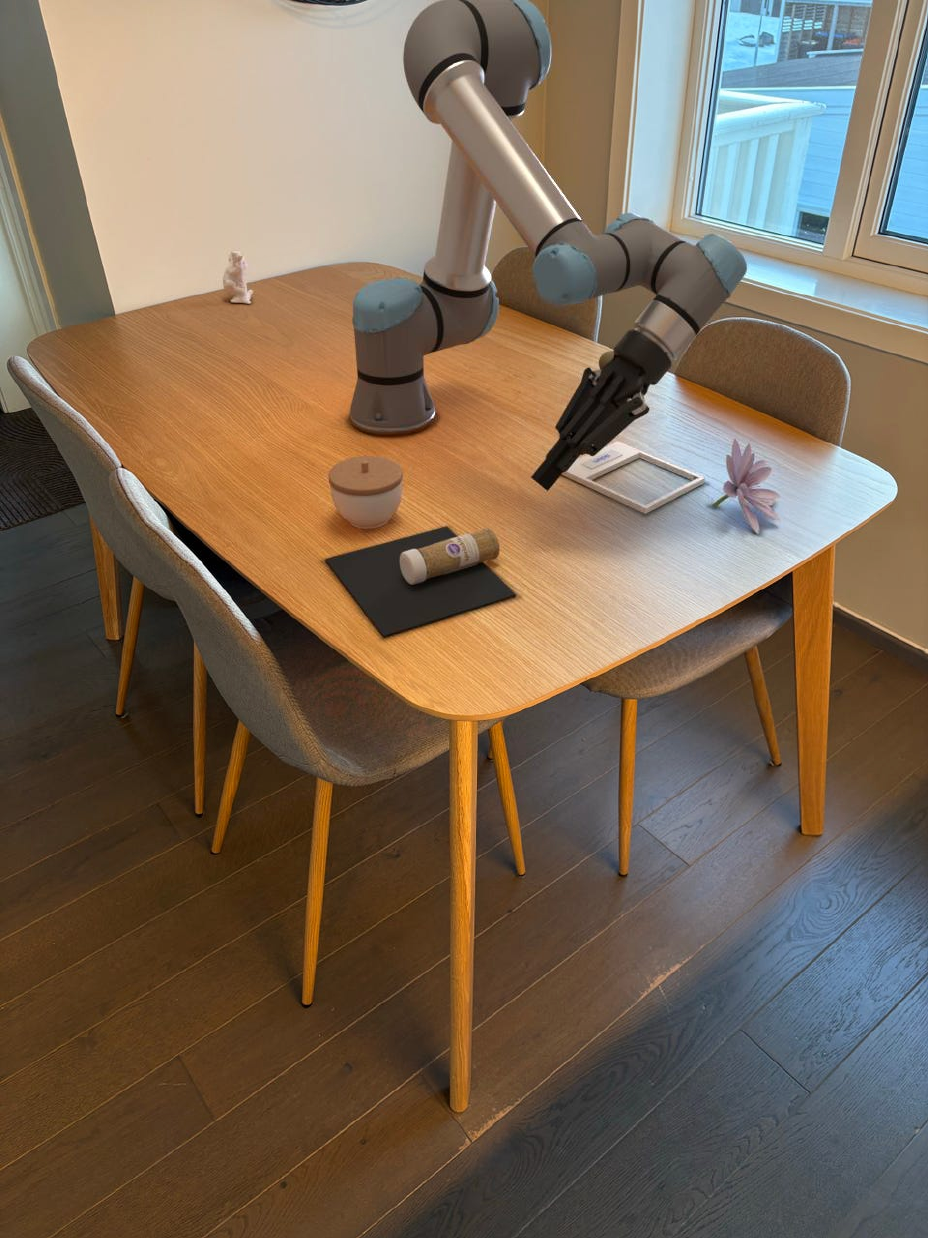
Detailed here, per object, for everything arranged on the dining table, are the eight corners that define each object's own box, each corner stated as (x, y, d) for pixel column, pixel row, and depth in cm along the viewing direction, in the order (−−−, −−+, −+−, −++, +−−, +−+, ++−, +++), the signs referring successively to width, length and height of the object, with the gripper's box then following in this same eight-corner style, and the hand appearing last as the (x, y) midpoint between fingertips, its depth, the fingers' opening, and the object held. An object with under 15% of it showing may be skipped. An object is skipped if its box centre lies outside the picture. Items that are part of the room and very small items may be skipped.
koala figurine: (259, 304, 221) (252, 251, 214) (231, 308, 219) (223, 254, 212) (250, 294, 227) (243, 242, 220) (223, 297, 225) (215, 245, 218)
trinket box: (333, 502, 143) (328, 446, 138) (403, 499, 144) (400, 443, 138) (331, 539, 135) (325, 480, 129) (406, 535, 135) (403, 477, 130)
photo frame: (617, 439, 158) (705, 476, 147) (617, 445, 159) (704, 482, 148) (558, 466, 150) (646, 507, 139) (557, 472, 151) (645, 513, 140)
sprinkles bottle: (503, 543, 126) (416, 570, 120) (496, 565, 130) (411, 592, 124) (487, 519, 128) (400, 545, 122) (480, 541, 132) (396, 567, 126)
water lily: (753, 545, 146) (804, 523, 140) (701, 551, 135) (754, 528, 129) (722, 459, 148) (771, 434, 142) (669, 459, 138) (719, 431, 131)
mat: (325, 561, 130) (325, 558, 130) (446, 528, 137) (446, 526, 137) (383, 638, 116) (383, 635, 115) (516, 596, 123) (516, 594, 122)
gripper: (696, 377, 122) (580, 517, 126) (637, 345, 131) (530, 477, 135) (669, 344, 117) (548, 491, 121) (609, 313, 126) (499, 451, 130)
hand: (539, 484), depth 128 cm, fingers closed
